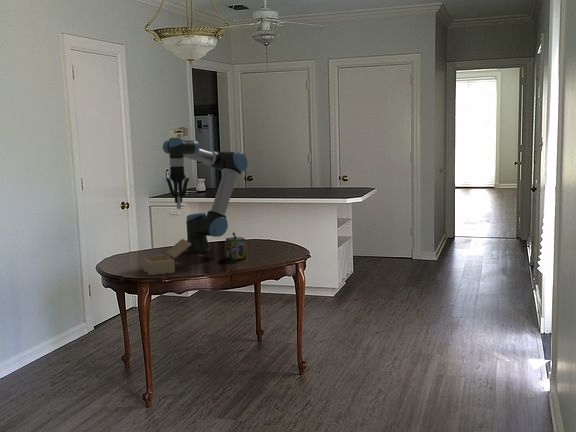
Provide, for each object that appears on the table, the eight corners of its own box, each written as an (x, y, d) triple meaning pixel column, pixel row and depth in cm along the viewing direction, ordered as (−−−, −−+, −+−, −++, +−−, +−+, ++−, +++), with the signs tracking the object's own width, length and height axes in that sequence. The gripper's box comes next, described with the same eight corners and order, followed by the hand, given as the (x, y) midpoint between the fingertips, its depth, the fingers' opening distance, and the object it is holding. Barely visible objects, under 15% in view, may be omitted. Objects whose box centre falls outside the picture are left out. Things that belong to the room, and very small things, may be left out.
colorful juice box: (246, 258, 357) (245, 233, 355) (231, 260, 353) (230, 234, 351) (241, 255, 365) (240, 230, 363) (226, 257, 362) (225, 232, 360)
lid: (182, 238, 341) (183, 240, 341) (166, 252, 338) (167, 253, 338) (191, 243, 328) (191, 244, 329) (174, 257, 325) (175, 258, 325)
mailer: (142, 270, 333) (142, 257, 332) (166, 267, 339) (166, 254, 338) (150, 275, 320) (149, 262, 319) (174, 272, 326) (174, 259, 325)
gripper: (167, 166, 336) (169, 210, 340) (190, 165, 342) (192, 208, 346) (163, 166, 343) (165, 208, 346) (186, 164, 349) (187, 206, 352)
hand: (178, 208), depth 346 cm, fingers closed
